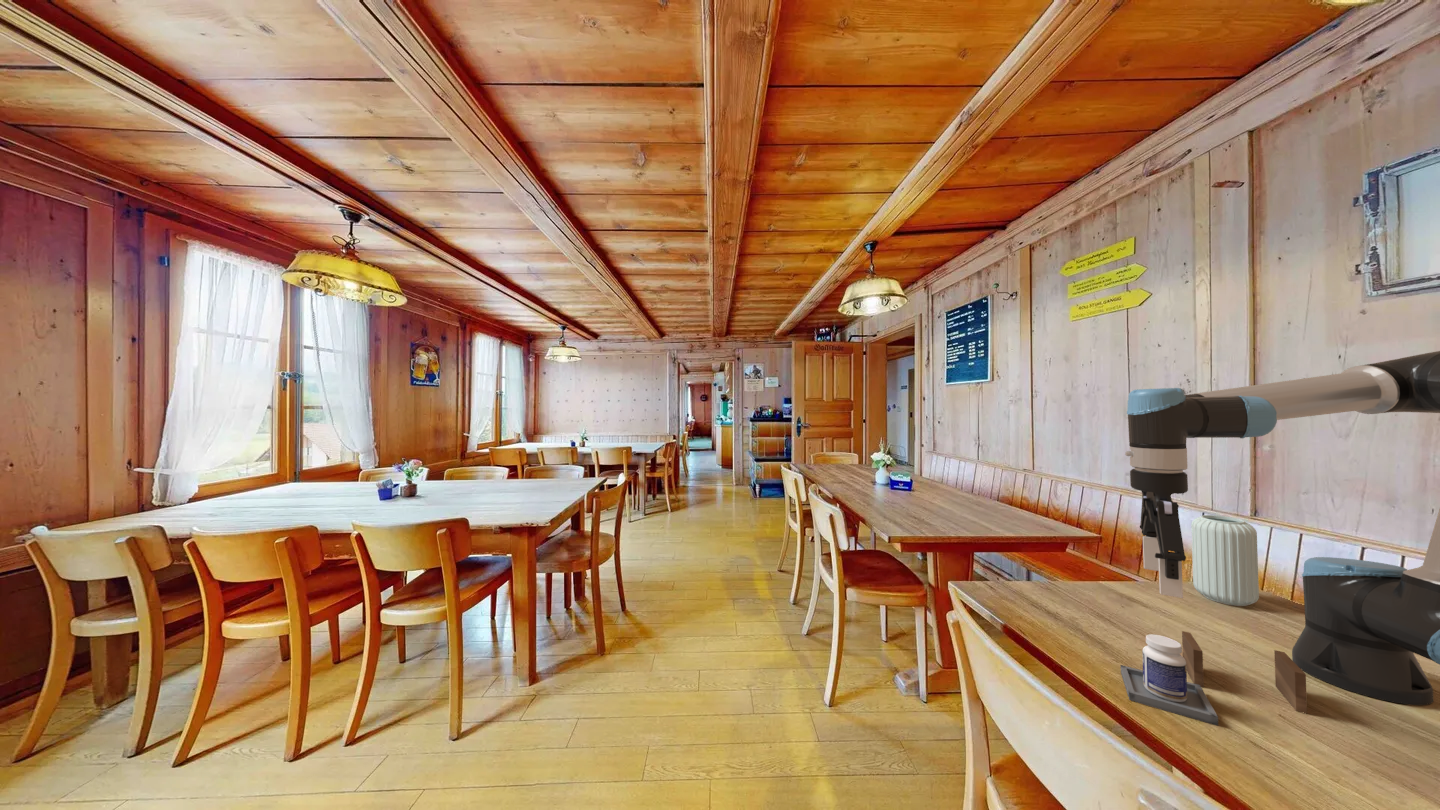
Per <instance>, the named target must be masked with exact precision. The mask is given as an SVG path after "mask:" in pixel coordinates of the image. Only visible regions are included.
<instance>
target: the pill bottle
mask: <svg viewBox="0 0 1440 810" xmlns="http://www.w3.org/2000/svg"><path fill="white" fill-rule="evenodd" d="M1145 644H1147V645H1145V646H1144V647H1143V648H1142V670H1143V684H1144V687H1145V688H1146V689H1147V690H1148V691H1149V692H1151V693H1152V694H1154V695H1156V696H1158V697H1160V698H1162V699H1165V700H1169V701H1173V702H1184V701H1186V700H1187V682H1188V680H1187V679H1188V677H1187V674H1188V672H1187V670H1186V661H1185V659H1184V658H1183V655H1181V653H1182V654H1183V647H1182V644H1181V643H1180V642H1179V641H1177V640H1175V639H1174V638H1173V639H1172V638H1170V637H1167V636H1164V635H1159V634H1151V633H1150V634H1146V636H1145Z"/></svg>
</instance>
